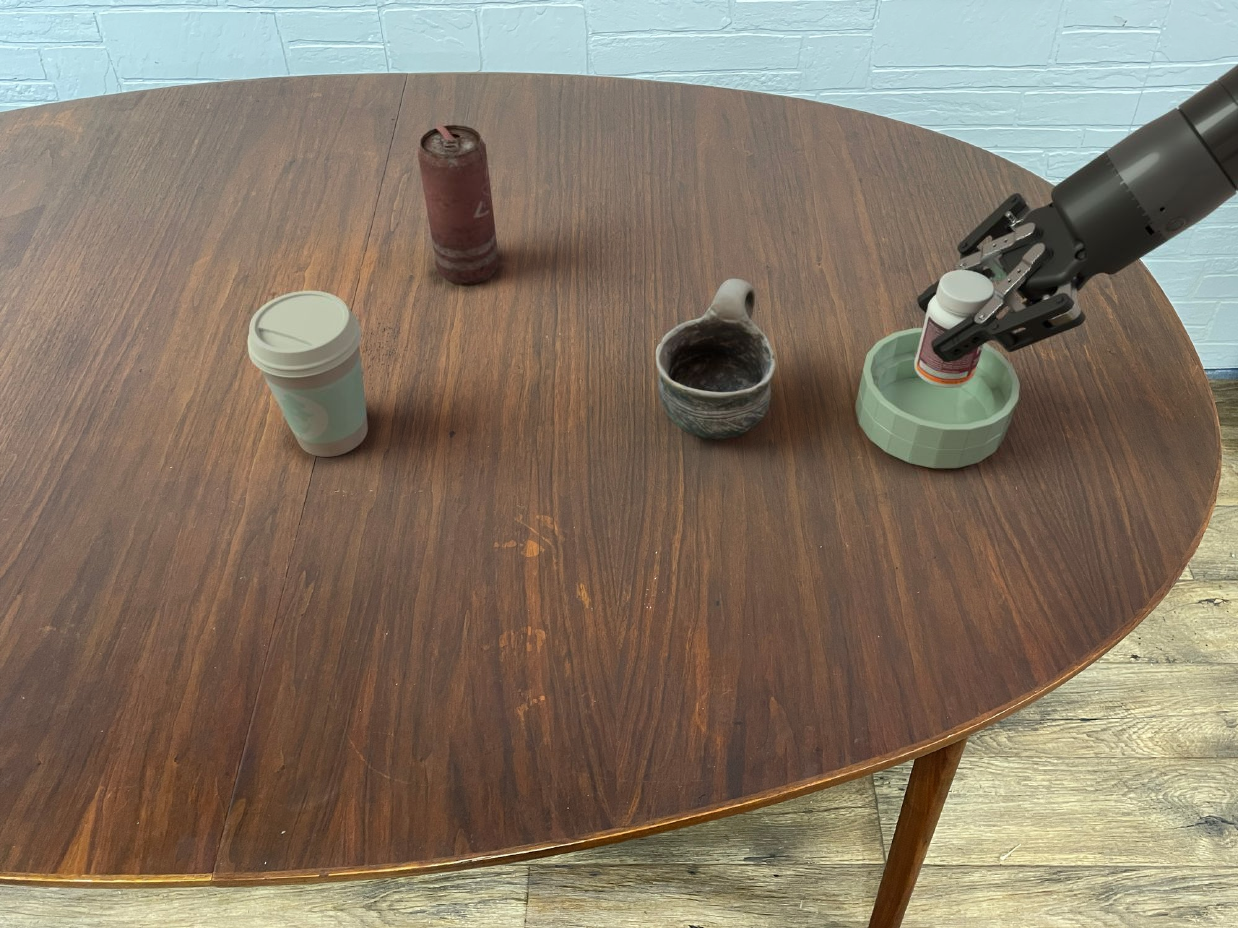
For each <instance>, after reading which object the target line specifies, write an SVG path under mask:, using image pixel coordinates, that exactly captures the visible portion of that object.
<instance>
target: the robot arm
mask: <svg viewBox="0 0 1238 928" xmlns="http://www.w3.org/2000/svg"><path fill="white" fill-rule="evenodd" d="M1177 107H1178V108H1177ZM1177 107H1174V108H1173V109H1171V110H1170V111H1168V112H1166V113H1164V114H1163V115H1161V116H1159V117H1157V118H1155V119H1153V120H1151V121H1149V122H1147V123H1146V124H1144V125H1142V126H1141V127H1139V128H1137V129H1136V130H1135V131H1133V132H1131V133H1130V134H1128V135H1127V136H1126V137H1125V138H1123V139H1121V140H1120V141H1118V142H1117V143H1116V144H1114V145H1113V146H1111V147H1110V148H1109V149H1107V150H1105V151H1104V152H1103V153H1101V154H1100V155H1098V156H1096V157H1095V158H1094V159H1092V160H1091V161H1090V162H1088V163H1086V164H1085V165H1084V166H1083V167H1081V168H1080V169H1079V168H1078V170H1076V171H1075V172H1073V173H1072V174H1071V175H1069V176H1067V177H1066V178H1065V179H1064V180H1062V181H1060V182H1059V183H1057V184H1056V185H1055V186H1054V187H1053V188H1052V189H1051V192H1050V197H1051V201H1052V202H1050V203H1048V204H1046V205H1044V206H1040V207H1037V208H1035V209H1034V208H1032V206H1031V204H1029V203H1028V202H1027V200H1026V199H1025V198H1024V197H1023V196H1022V195H1021V193H1019V192H1016V193H1012V194H1010V196H1009V197H1007V198H1006V199H1005V200H1004V201H1003V202H1002V203H1000V205H999V206H998V207H996V209H994V210H993V212H991V213H990V214H989V215H988V216H987V217H986V218H985V219H984V220H983V221H982V222H981V223H980V224H978V225H977V226H976V227H975V228H974V229H973V230H972V231H971V232H970V233H969V234H968V235H967V236H966V237H965V238H964V239H962V241H960V242H959V244H958V245H957V247H956V248H957V249H956V250H957V252H958V253H959V254H960V256H959V260H957V262H956V263H955V266H954V269H953V270H952V271H955V270H969V271H973V272H977V273H979V274H982V275H984V276H985V277H987V278H988V279H989V280H990V281H991V282H992V283H993V284H994V283H995V282H999V283H998V284H997V285H996V286H995V287H994V289H995V291H994V295H993V298H992V299H991V300H990V301H989V302H988V303H987V304H986V305H985V306H984V307H983V308H982V309H981V310H980V311H979V312H978V313H977V314H976V315H975V318H974V317H973V316H972V315H971V316H969V317H968V318H966V319H965V320H963V321H962V322H960V323H958V324H957V325H955V326H954V327H952V328H951V329H949V330H948V331H946V332H945V333H943V334H942V335H940V336H938V337H937V338H935V339H934V340H933V341H932V342H931V346H932V349H933V352H934V353H935V354H936V355H937V356H938V357H939V358H940V359H941V360H942V361H944V362H951V361H956V360H959V359H960V358H962V357H964V355H967V354H968V353H969V352H971V351H973V350H975V349H976V348H978V347H979V346H981V345H983V344H984V343H986V344H987V342H990V341H994V342H996V343H998V345H1000V346H1001V347H1002V348H1003V349H1004V350H1005V351H1006V352H1007V353H1013V352H1016V351H1018V350H1021V349H1023V348H1026V347H1029V346H1031V345H1034V344H1036V343H1039V342H1041V341H1044V340H1046V339H1050V338H1052V337H1054V336H1056V335H1059V334H1062V333H1063V332H1064V333H1065V332H1066V331H1070V330H1072V329H1075V328H1077V327H1079V326H1081V325H1083V323H1084V322H1085V320H1086V318H1087V315H1086V313H1085V312H1084V311H1083V310H1082V309H1081V307H1080V306H1079V298H1078V297H1079V296H1078V292H1079V291H1081V290H1082V289H1083V287H1084V286H1085V285H1086V284H1087V283H1088V282H1089V281H1090V280H1091V279H1092V278H1094V276H1096V275H1098V274H1106V275H1110V276H1111V275H1116V274H1117V273H1119V272H1120V271H1122V270H1124V269H1125V268H1127V267H1128V266H1130V265H1132V264H1133V263H1135V262H1137V261H1138V260H1140V259H1141V258H1143V257H1144V256H1146V255H1148V254H1150V253H1152V252H1153V251H1154V250H1156V249H1157V248H1159V247H1161V246H1162V245H1164V244H1165V243H1167V242H1169V241H1170V240H1172V239H1173V238H1175V237H1177V236H1178V235H1180V234H1181V233H1183V232H1185V231H1186V230H1188V229H1189V228H1191V227H1193V226H1194V225H1197V223H1199V222H1201V221H1203V220H1204V219H1205V218H1207V217H1208V216H1209V215H1211V214H1212V213H1214V212H1215V211H1216V210H1217V209H1218V208H1219V207H1221V206H1222V205H1223V204H1224V203H1226V202H1227V201H1228V200H1230V199H1232V197H1234V196H1235V195H1237V192H1238V63H1237V64H1236V65H1235V66H1233V67H1232V68H1231V69H1229V70H1228V71H1227V72H1225V73H1224V74H1222V75H1221V76H1219V77H1218V78H1217V79H1215V80H1214V81H1212V82H1210V83H1209V84H1208V85H1206V86H1205V87H1204V88H1202V89H1200V90H1199V91H1197V92H1196V93H1195V94H1193V95H1192V96H1190V97H1189V98H1188V99H1186V100H1184V101H1183V102H1182V103H1180V104H1179V105H1178V106H1177ZM988 237H991V241H988V242H987V243H986V242H985V243H984V244H983V245H982V247H981V250H980V248H979V247H978V246H979V245H980V244H982V242H983V241H985V240H986V239H987V238H988ZM985 267H987V268H985ZM984 268H985V269H984ZM939 282H940V279H939V280H937V281H936V282H934V283H933V284H931V285H930V286H928V287H927V288H926V289H925V290H924V291H923V292H922V293H921V294H919V295H918V297H917V298H916V301H917V304H918V308H919V309H920V310H922V312H924V313H925V314H926V312H927V307H928V304H929V302H930V300H931V299H932V298H933V297H934V296H935V295H936V292H937V289H938V285H939ZM1016 293H1017V295H1019V296H1020V298H1022V300H1024V299H1026V300H1024V301H1023V302H1021V300H1019V298H1018V297H1017V296H1016ZM1007 307H1008V311H1006V313H1005V314H1003V316H1002V317H1001V318H998V317H997V316H999V314H1000V313H1001V312H1002V311H1003V310H1005V308H1007ZM1019 329H1021V330H1019ZM1017 330H1019V331H1017ZM1014 331H1017V332H1014Z"/></svg>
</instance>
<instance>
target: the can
mask: <svg viewBox="0 0 1238 928" xmlns="http://www.w3.org/2000/svg"><path fill="white" fill-rule="evenodd" d="M417 158H418V165H419V170H420V171H419V172H420V176H421V182H422V183H421V184H422V188H423V195H424V200H425V207H426V212H427V219H428V224H429V230H430V236H431V241H432V248H433V253H434V260H435V265H436V269H437V271H438V273H439V275H440V276H442V278H444V279H445V280H447V282H450V283H452V284H455V285H461V286H462V285H463V286H468V285H477V284H481V283H483V282H485V281H486V280H488V279H490V278H491V277H492V276H493V275H494V274H495V272H496V271H497V269H498V267H499V265H500V258H499V249H498V241H497V231H496V224H495V215H494V214H495V213H494V206H493V197H492V187H491V179H490V178H491V177H490V170H489V161H488V154H487V144H486V143H485V142H484V139H483V138H482V136H481V134H480V132H479V131H477V130H476V129H474V128H473V127H470V126H468V125H467V126H466V125H460V124H451V125H450V124H446V125H442V124H440V125H437V126H435V127H434V128H433V129H430V130H428V131H427V132H425V133H424V134H423V135H422V137H420V140H419V145H418V147H417Z"/></svg>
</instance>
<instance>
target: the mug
mask: <svg viewBox="0 0 1238 928" xmlns="http://www.w3.org/2000/svg"><path fill="white" fill-rule="evenodd" d="M755 305H756V293H755V289H754V287H753V286H752V285H751V283H749V282H748V281H746V280H743V279H741V278H729V279H726V280H725V281H724V282H723V283H722V284H721V285H720V286H719V288H718V290H717V291H716V293H715V295H714V298H713V300H712V302H711V304H710V307H708V309H706V311H705V313H704V314H703V316H701V317H699V318H696V319H691V320H688V321H685V322H682V323H680V324H678V325H676V326H675V327H674V328H672V329H671V330H670V331H668V332H666V334H665V335H664V336H663V337H662V339H661V342H660V343H658V345H657V347H656V349H655V364H656V369H657V373H658V381H657V382H658V396H659V399H660V402H661V405H662V408H663V410H664V411H665V413H666V416H668V418H669V419H670V420H671V421H672V422H673V423H674V424H675V425H676V426H677V427H679V428H680V429H681V430H683V431H684V432H686V433H688V434H690V435H692V436H694V437H698V438H700V439H701V438H702V439H709V440H724V439H731V438H735V437H738V436H742V435H744V434H745V433H747V432H749V431H750V430H751V429H753V428H754V427H755V426H756V425H758V424H759V423H760V422H761V421H762V420H763V418H764V417H765V415H766V414H767V412H768V410H769V407H770V404H771V403H770V401H771V399H772V398H771V397H772V392H771V381H772V378H773V377H774V374H775V372H776V357H775V353H774V350H773V348H772V345H771V342H770V340H769V339H768V337H767V336H766V335H765V333H763V331H762V330H761V329H760V328H759V327H758V326H757V325H756V324H755V322H753V320H752V319H753V316H754V315H753V314H754V310H755Z"/></svg>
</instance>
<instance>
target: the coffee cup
mask: <svg viewBox="0 0 1238 928" xmlns="http://www.w3.org/2000/svg"><path fill="white" fill-rule="evenodd" d="M248 329H249V331H248V332H249V333H248V336H247V349H248V356H249V359H250V360H251V363H253V364H254V365H255V367H257V368H258V369H260V371H261V373H262V375H263V378H264V379H265V381H266V383H267V385H268V387H269V389H270V391H271V393H272V395H273V397H274V399H275V400H276V402H277V404H278V406H279V408H280V411H281V412H282V414H283V417H284V418H285V420H286V422H287V424H288V426H289V427H290V430H291V432H292V434H293V435H294V437H295V439H296V440H297V443H298V445H299V446H300V448H301V449H302V451H305V452H306V453H307V454H310V455H312V456H315V457H322V458H331V457H338V456H342V455H343V454H346V453H348V452H350V451H352V450H354V449H356V448H357V447H358V446H359V445H360V444H361V443H363V441H364V439H365V438H366V437H367V434H368V430H369V425H368V417H367V415H368V414H367V404H366V396H365V386H364V385H365V384H364V377H363V375H364V374H363V367H362V357H361V348H360V343H361V341H362V336H363V335H362V327H361V324H360V322H359V321H358V319H357V316H356V314H355V313H354V312H353V311H352V310H351V309H350V308H349V307H348V305H347V304H346V303H345V301H344V300H342V298H340V297H339V296H337V295H335V294H332V293H329V292H326V291H320V290H299V291H294V292H289V293H286V294H282V295H280V296H278V297H275V298H273V299H272V300H269V301H268V302H266V303H265V304H264V305H262V306H261V307H260V308H259V309H258V310H257V311H256V312H255V313H254V314H253V316H252V317H251V320H250V322H249V327H248Z"/></svg>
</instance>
